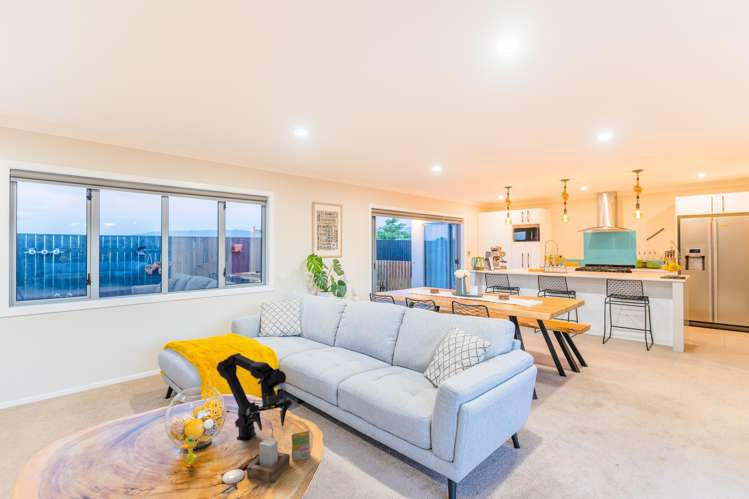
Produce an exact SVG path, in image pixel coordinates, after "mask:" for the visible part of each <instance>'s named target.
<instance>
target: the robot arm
mask: <svg viewBox="0 0 749 499" xmlns="http://www.w3.org/2000/svg"><path fill="white" fill-rule="evenodd" d="M238 367H239V368H242V369H244V370H246V371H248V372H249V373H250V376H252V377H253V378H254V379H256V380H258V381H257V385H260V393H261V396H260V397H261V401H262V405H261V406H260V405H259V404H256V403H255V402H254V401H253V402H251V401H249V399H248V396H247V394H246V393H245V390H244V388H243V386H242V384H241V382H240V380H239V377H238V375H237V372H238V371H237V370H238ZM216 371H217V372H218V374H219V376H220V377H221V378H223V379H224V380H225V381H226V383H227V384H228V387H229V389H230V391H231V394H232V395H233V398H234V400H235V402H236V404H237V407H238V409H237V416H238V417H237V419H236V420H235V421H234V423H235V427H237V428H238V436H236V439H237V440H240V441H246V442H247V441H250V440H251V439H252V438H253V437H254V436H256V435H257V432H256V431H255V430H256V429H255V428H256V427H255V424H256V425H257V426H258V429H259V430H260V431H261V432H262V431H263V426H262V420H261V412H264V411H270V410H275V409H280V410H279V415H280V424H281V427H284V425H285V419H286V418H285V417H286V414H287V411H288V410H289V409H290V408H291V407H292V406H293V401H292V399H285V400H284V391H277V393H276V390H275V388H277V387H279V386H281V385H282V384H284V383H285V382H286V380H287V375H286V373H285V372H284V371H283V370H280V368H276V369H274V368H273V367H272V366H271V365H270V364H269V363H267V362H264V361H255V360H253V359H250V358H249V357H246V356H244V355H242V354H241V353H239V352H236V353H235V354H230V356H228V357H227V358H226V359H224V360H221V361H219V362H218V363H217V365H216ZM281 400H282V401H281Z"/></svg>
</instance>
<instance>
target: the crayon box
mask: <svg viewBox="0 0 749 499" xmlns="http://www.w3.org/2000/svg"><path fill="white" fill-rule="evenodd" d="M310 442H311V441H310V430H307V431H301V432H296V433H292V435H291V460H292V462H295V461H299V460H304V459H309V458H310V457H311V447H310V446H311V443H310Z"/></svg>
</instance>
